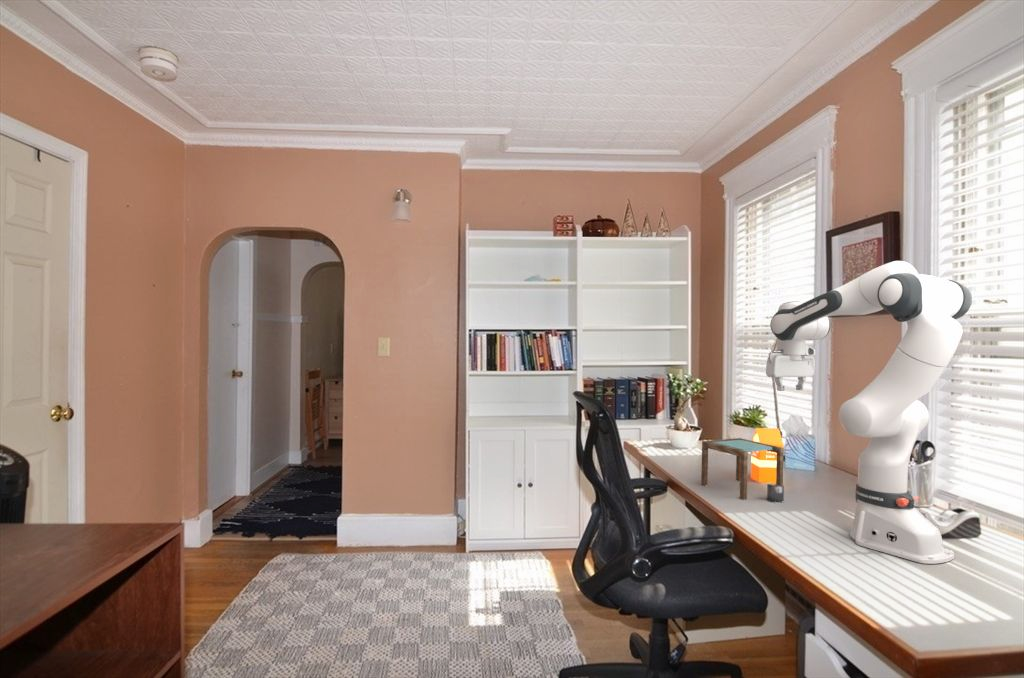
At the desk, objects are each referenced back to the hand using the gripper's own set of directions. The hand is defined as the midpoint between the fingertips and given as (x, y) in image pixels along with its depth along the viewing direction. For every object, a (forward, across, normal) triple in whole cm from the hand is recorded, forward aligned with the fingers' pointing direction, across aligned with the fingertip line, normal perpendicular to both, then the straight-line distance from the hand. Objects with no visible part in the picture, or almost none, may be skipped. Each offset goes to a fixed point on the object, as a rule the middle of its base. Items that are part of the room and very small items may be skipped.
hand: (790, 390), depth 185 cm
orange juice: (+36, +12, +19) cm, 43 cm away
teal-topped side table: (+36, -7, +14) cm, 40 cm away
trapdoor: (+21, -7, +14) cm, 26 cm away
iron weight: (+37, -7, 0) cm, 37 cm away
